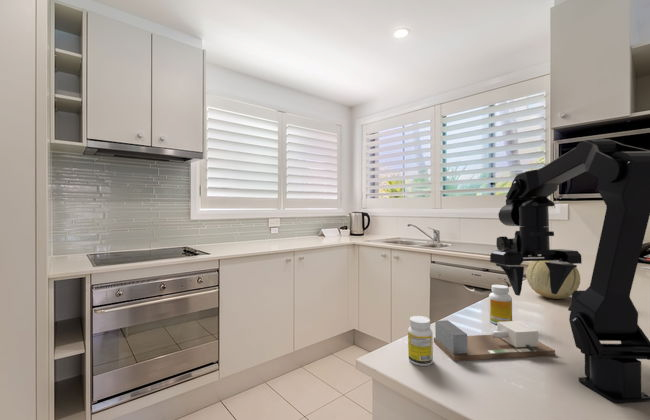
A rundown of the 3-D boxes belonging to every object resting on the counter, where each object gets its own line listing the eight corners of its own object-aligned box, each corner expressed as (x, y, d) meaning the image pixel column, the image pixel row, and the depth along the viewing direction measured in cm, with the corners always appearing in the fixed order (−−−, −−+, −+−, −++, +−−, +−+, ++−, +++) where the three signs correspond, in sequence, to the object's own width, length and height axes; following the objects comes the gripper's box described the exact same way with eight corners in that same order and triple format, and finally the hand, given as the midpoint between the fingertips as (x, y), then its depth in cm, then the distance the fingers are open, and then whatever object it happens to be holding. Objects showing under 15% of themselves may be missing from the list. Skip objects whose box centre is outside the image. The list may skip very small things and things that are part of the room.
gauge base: (523, 337, 73) (523, 332, 73) (555, 355, 64) (555, 349, 64) (433, 341, 71) (433, 336, 71) (453, 361, 62) (453, 355, 62)
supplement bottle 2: (515, 327, 79) (515, 289, 79) (492, 325, 80) (492, 288, 80) (507, 319, 84) (507, 284, 84) (486, 318, 85) (486, 283, 85)
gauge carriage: (517, 334, 71) (517, 320, 71) (545, 350, 63) (545, 334, 63) (485, 336, 70) (484, 322, 70) (509, 352, 62) (509, 336, 62)
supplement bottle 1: (414, 353, 65) (413, 313, 65) (436, 359, 62) (436, 318, 62) (404, 361, 62) (404, 319, 62) (427, 369, 59) (427, 325, 59)
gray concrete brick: (448, 337, 70) (447, 320, 70) (467, 354, 63) (467, 334, 63) (435, 338, 70) (435, 320, 70) (453, 354, 62) (453, 335, 62)
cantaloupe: (520, 297, 105) (520, 253, 105) (532, 289, 115) (532, 249, 115) (576, 307, 94) (575, 258, 94) (584, 298, 104) (583, 253, 104)
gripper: (542, 225, 81) (544, 285, 80) (475, 226, 78) (477, 288, 78) (582, 226, 69) (585, 296, 69) (505, 227, 67) (507, 299, 67)
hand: (535, 294), depth 71 cm, fingers open, 9 cm apart
